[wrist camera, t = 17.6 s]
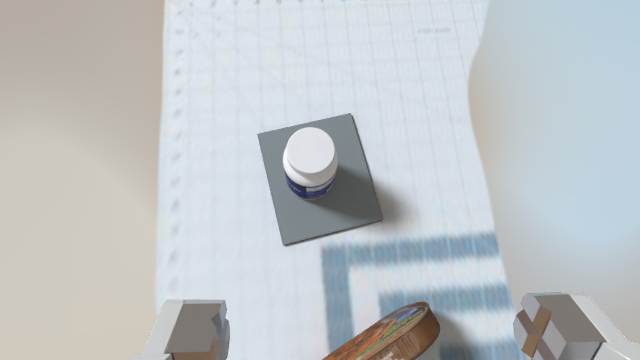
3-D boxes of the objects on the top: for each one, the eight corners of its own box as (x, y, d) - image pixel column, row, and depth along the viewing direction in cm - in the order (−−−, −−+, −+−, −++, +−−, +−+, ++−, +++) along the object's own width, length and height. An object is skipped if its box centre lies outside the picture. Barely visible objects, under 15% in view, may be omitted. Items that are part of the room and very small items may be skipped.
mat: (382, 219, 45) (382, 219, 45) (283, 245, 44) (282, 244, 43) (350, 114, 49) (350, 113, 48) (257, 135, 47) (257, 134, 47)
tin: (412, 297, 43) (437, 300, 35) (428, 323, 42) (458, 331, 34) (297, 375, 40) (294, 397, 32) (312, 404, 40) (313, 433, 32)
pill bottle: (278, 166, 46) (271, 133, 36) (321, 148, 47) (325, 112, 37) (297, 208, 45) (294, 187, 35) (341, 190, 45) (350, 164, 36)
